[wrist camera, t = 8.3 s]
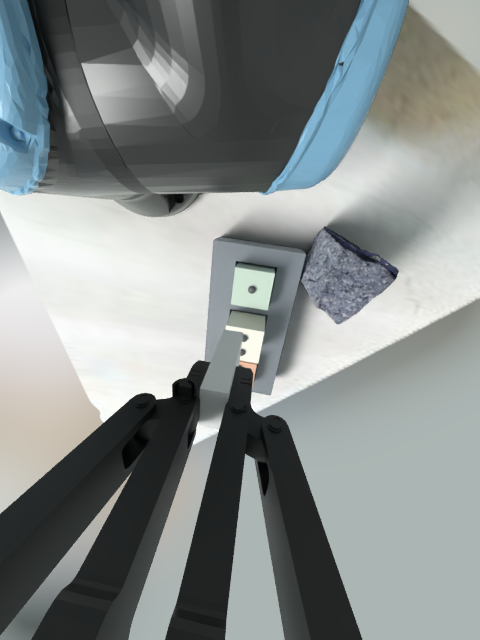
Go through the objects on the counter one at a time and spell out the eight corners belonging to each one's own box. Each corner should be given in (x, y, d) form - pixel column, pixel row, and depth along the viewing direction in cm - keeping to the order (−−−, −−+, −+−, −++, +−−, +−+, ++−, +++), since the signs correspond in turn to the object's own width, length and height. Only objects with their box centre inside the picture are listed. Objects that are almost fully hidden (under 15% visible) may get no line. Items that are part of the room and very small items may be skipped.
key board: (220, 236, 33) (213, 240, 29) (301, 249, 33) (306, 254, 29) (209, 366, 44) (203, 382, 40) (270, 378, 43) (270, 395, 39)
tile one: (240, 259, 33) (234, 267, 28) (274, 265, 32) (275, 273, 28) (235, 292, 35) (230, 304, 30) (268, 297, 35) (267, 311, 30)
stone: (335, 213, 32) (397, 255, 30) (294, 270, 38) (344, 307, 36) (318, 214, 22) (406, 275, 21) (267, 290, 28) (333, 342, 27)
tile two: (232, 310, 34) (225, 325, 29) (265, 315, 33) (264, 332, 29) (228, 339, 36) (222, 358, 31) (259, 344, 36) (258, 364, 31)
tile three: (229, 342, 39) (223, 359, 34) (258, 347, 39) (256, 365, 34) (226, 365, 41) (220, 385, 36) (253, 370, 41) (251, 390, 36)
